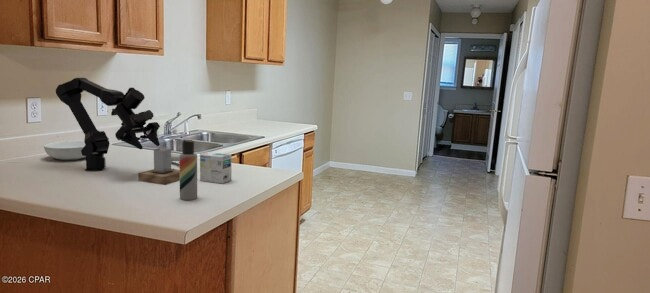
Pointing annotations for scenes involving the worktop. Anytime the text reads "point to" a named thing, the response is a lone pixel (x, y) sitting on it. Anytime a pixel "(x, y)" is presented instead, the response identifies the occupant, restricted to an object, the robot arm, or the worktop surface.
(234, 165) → the worktop surface
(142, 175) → the wooden square hole board
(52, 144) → the serving bowl
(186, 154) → the lotion bottle
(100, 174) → the worktop surface
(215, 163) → the light bulb box
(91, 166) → the robot arm
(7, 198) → the worktop surface
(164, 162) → the steel peg
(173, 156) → the grey metal cylinder
